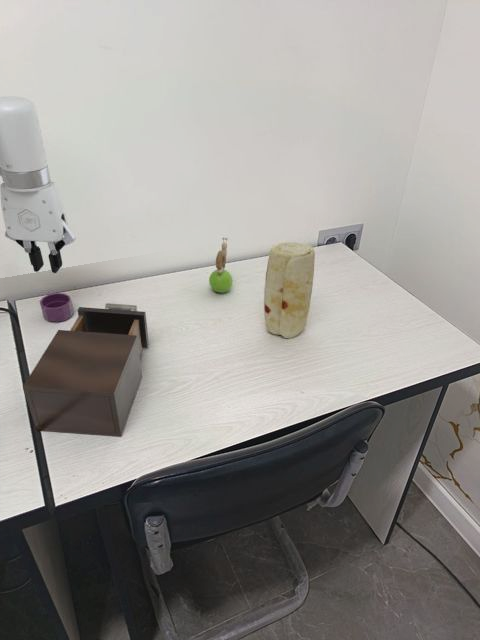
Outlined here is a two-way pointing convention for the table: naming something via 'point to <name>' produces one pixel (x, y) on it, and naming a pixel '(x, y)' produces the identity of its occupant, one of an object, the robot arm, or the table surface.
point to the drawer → (114, 321)
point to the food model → (288, 288)
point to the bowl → (56, 307)
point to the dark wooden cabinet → (85, 383)
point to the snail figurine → (221, 272)
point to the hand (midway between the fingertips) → (47, 268)
